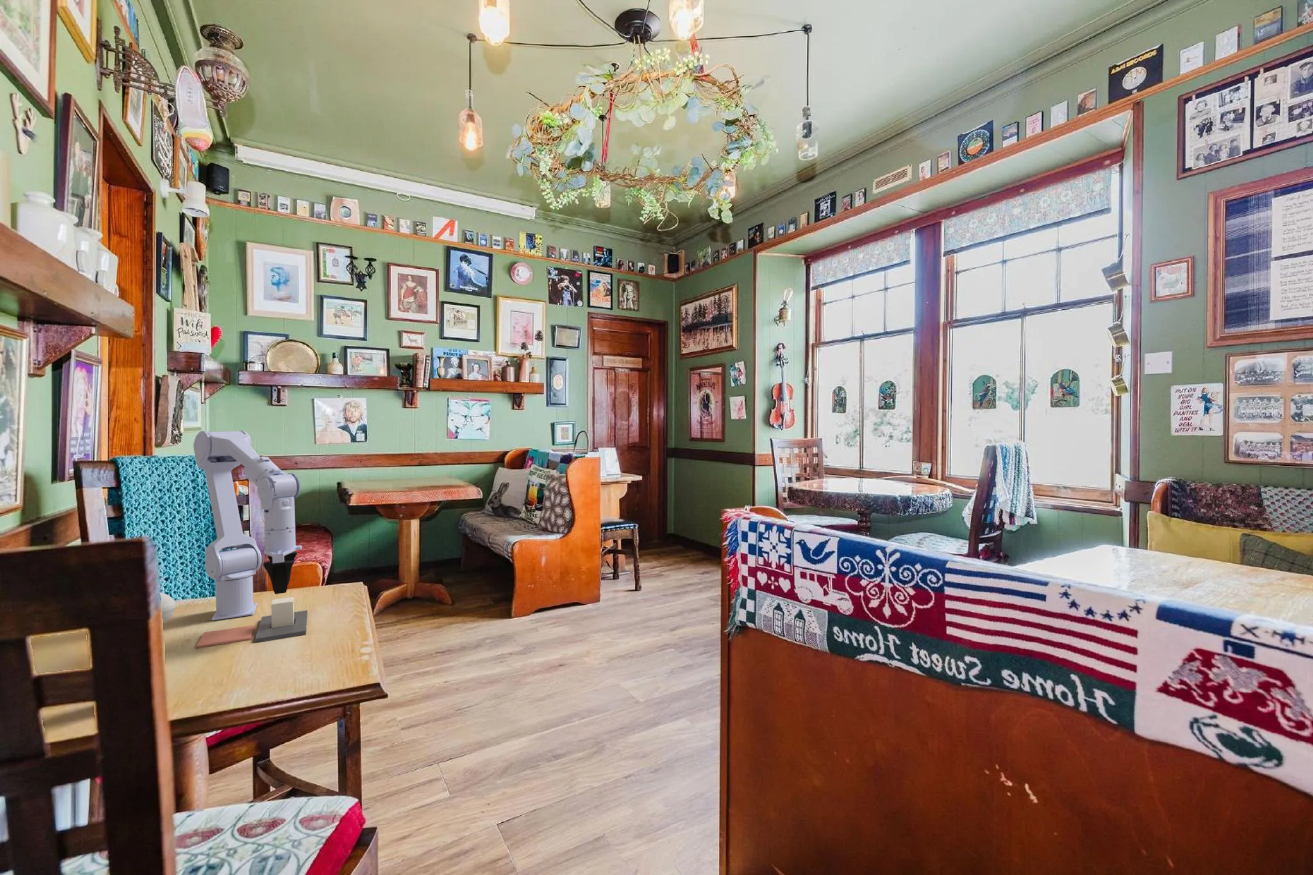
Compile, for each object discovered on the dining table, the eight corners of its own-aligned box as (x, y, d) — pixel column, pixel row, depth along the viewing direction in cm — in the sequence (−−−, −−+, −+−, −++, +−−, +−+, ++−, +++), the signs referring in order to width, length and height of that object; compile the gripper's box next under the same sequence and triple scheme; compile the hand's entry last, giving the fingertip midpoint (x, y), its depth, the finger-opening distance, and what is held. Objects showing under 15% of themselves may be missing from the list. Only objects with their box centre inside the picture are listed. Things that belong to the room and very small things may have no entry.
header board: (262, 620, 133) (261, 616, 133) (307, 613, 137) (307, 610, 137) (255, 642, 119) (255, 638, 119) (305, 634, 124) (305, 630, 124)
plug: (273, 626, 129) (272, 599, 129) (294, 623, 131) (293, 596, 131) (271, 631, 126) (271, 604, 125) (293, 628, 128) (292, 601, 127)
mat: (204, 634, 124) (204, 632, 124) (254, 626, 128) (254, 624, 128) (196, 648, 116) (196, 646, 116) (250, 639, 121) (250, 637, 121)
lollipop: (126, 686, 99) (124, 600, 99) (138, 673, 105) (136, 591, 104) (172, 678, 102) (170, 595, 102) (181, 666, 107) (179, 586, 107)
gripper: (299, 531, 123) (301, 593, 124) (302, 522, 136) (304, 579, 136) (259, 534, 120) (261, 599, 120) (266, 525, 133) (268, 583, 133)
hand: (281, 589), depth 128 cm, fingers open, 7 cm apart
